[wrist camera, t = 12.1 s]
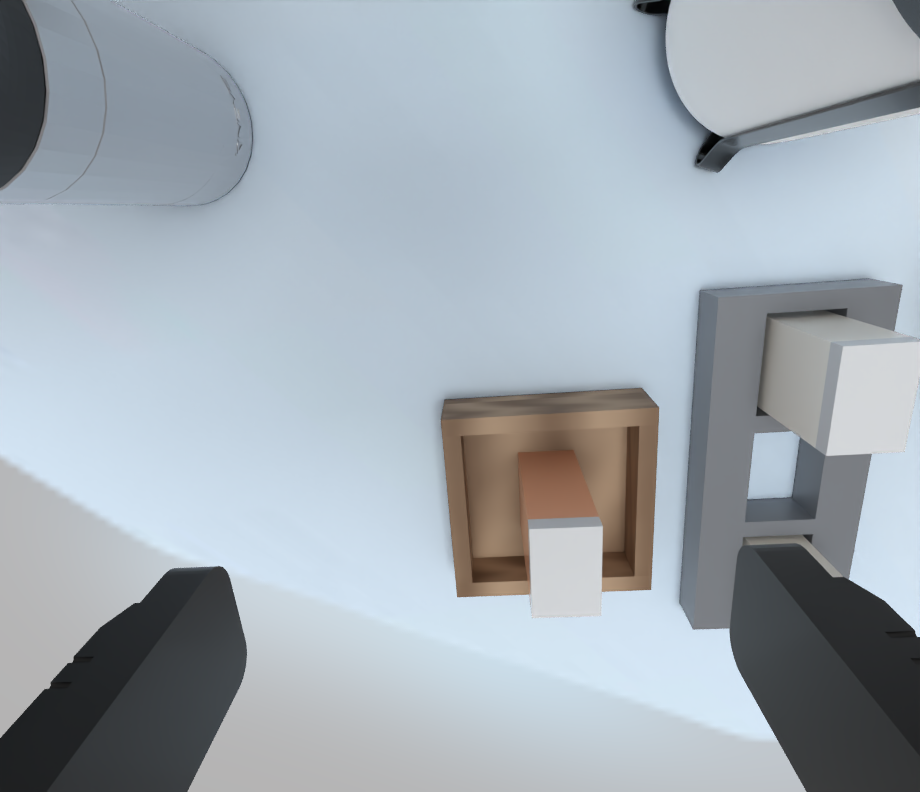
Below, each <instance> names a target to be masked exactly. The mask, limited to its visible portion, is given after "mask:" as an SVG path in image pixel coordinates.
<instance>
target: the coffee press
mask: <svg viewBox="0 0 920 792" xmlns="http://www.w3.org/2000/svg"><path fill="white" fill-rule="evenodd" d="M634 7H635V8H636V9H637V10H638V11H640V12H642V13H645V14H649V15H668V17H667V24H666V55H667V62H668V67H669V71H670V75H671V78H672V81H673V84H674V87H675V89H676V91H677V93H678V95H679V97H680V99H681V101H682V102H683V104H684V105H685V107H686V108H687V109H688V111H689V112H690V113H691V114H692V115H693V116H694V118H695V119H696V120H698V121H699V122H700V123H701V124H702V125H703V126H705V127H706V128H707V129H709V130H710V131H712V132H711V133H710V135H709V136H708V138H707V139H706V141H705V142H704V143H703V145H702V147H701V148H700V150H699V152H698V155H697V158H696V163H695V164H696V166H698V167H701V168H704V169H707V170H710V171H713V172H716V173H718V172H719V171H721V170H722V168H723V167H724V166H725V165H726V164H727V163H728V162H729V161H730V160H731V158H732V157H733V156H734V155H735V154H736V153H737V152H738V151H740V150H741V149H743V148H746V147H750V146H753V145H758V144H774V143H781V142H787V141H792V140H797V139H802V138H807V137H812V136H816V135H821V134H826V133H831V132H835V131H840V130H845V129H850V128H854V127H859V126H864V125H868V124H873V123H878V122H882V121H887V120H892V119H896V118H901V117H906V116H910V115H915V114H920V0H636V2H635V5H634Z"/></svg>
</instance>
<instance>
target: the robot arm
mask: <svg viewBox="0 0 920 792" xmlns="http://www.w3.org/2000/svg"><path fill="white" fill-rule="evenodd" d="M251 146H252V128H251V119H250V116H249V112H248V108H247V105H246V102H245V100H244V98H243V96H242V94H241V92H240V90H239V88H238V86H237V85H236V83H235V82H234V81H233V79H232V78H231V76H230V75H229V74H228V72H227V71H226V70H225V69H224V68H223V67H221V66H220V65H219V64H218V63H217V62H216V61H215V60H214V59H212V58H211V57H209V56H208V55H206V54H205V53H203V52H202V51H200V50H198V49H196V48H195V47H193V46H191V45H189V44H188V43H186V42H184V41H182V40H180V39H179V38H177V37H175V36H174V35H172V34H170V33H168V32H167V31H165V30H163V29H161V28H160V27H158V26H156V25H154V24H153V23H151V22H149V21H147V20H145V19H144V18H142V17H140V16H138V15H136V14H135V13H133V12H131V11H129V10H128V9H126V8H124V7H122V6H120V5H119V4H117V3H115V2H113V1H111V0H0V204H88V205H159V206H191V205H203V204H206V203H209V202H212V201H215V200H217V199H219V198H221V197H222V196H224V195H225V194H227V193H228V192H229V191H230V190H231V189H232V188H233V187H234V186H235V185H236V184H237V183H238V182H239V180H240V178H241V177H242V175H243V173H244V172H245V170H246V167H247V164H248V161H249V158H250V155H251ZM730 641H731V647H732V651H733V655H734V659H735V662H736V664H737V667H738V669H739V671H740V673H741V675H742V677H743V679H744V681H745V682H746V684H747V686H748V688H749V690H750V691H751V693H752V695H753V697H754V699H755V700H756V702H757V704H758V706H759V707H760V709H761V711H762V713H763V715H764V716H765V718H766V720H767V722H768V724H769V725H770V727H771V729H772V731H773V733H774V734H775V736H776V738H777V740H778V741H779V743H780V745H781V747H782V749H783V750H784V752H785V754H786V756H787V757H788V759H789V761H790V763H791V765H792V766H793V768H794V770H795V772H796V774H797V775H798V777H799V779H800V781H801V783H802V784H803V786H804V788H805V790H806V791H807V792H920V637H917V636H916V634H915V630H914V629H913V628H912V627H911V626H910V625H909V624H908V623H907V622H905V621H904V620H903V619H902V618H901V617H900V616H899V615H898V614H897V613H896V612H895V611H894V610H893V609H892V608H891V607H890V606H889V605H888V604H887V603H886V602H885V601H884V600H882V599H880V598H879V597H877V596H875V595H874V594H872V593H870V592H869V591H867V590H865V589H864V588H862V587H860V586H859V585H857V584H855V583H853V582H852V581H850V580H848V579H847V578H845V577H832V576H831V575H830V574H829V573H828V572H827V571H826V570H825V568H824V567H823V566H822V565H821V564H820V563H819V562H818V561H817V560H816V559H815V558H814V557H813V556H812V555H811V554H810V553H809V552H808V551H807V550H806V549H805V548H804V547H803V546H801V545H800V544H797V543H787V544H764V545H744V546H742V547H741V548H740V550H739V552H738V555H737V562H736V571H735V581H734V590H733V600H732V610H731V619H730ZM246 658H247V649H246V641H245V637H244V633H243V629H242V625H241V621H240V617H239V613H238V609H237V605H236V601H235V597H234V593H233V589H232V585H231V581H230V578H229V575H228V573H227V571H226V570H225V569H224V568H223V567H220V566H218V567H194V568H174V569H171V570H169V571H168V572H167V573H166V574H165V575H164V576H163V577H162V578H161V579H160V580H159V581H158V583H157V584H156V585H155V586H154V587H153V589H152V590H151V591H150V592H149V593H148V594H147V595H146V597H145V598H144V599H143V600H142V601H141V602H140V603H135V604H133V605H131V606H130V607H129V608H127V609H126V610H124V611H123V612H122V613H120V614H119V615H117V616H116V617H115V618H113V619H112V620H110V621H109V622H107V623H106V624H105V625H103V626H102V627H100V629H98V631H97V632H96V633H95V634H94V635H93V636H92V637H91V638H90V639H89V641H88V642H87V643H86V644H85V645H84V646H83V647H82V648H81V649H80V651H79V652H78V653H77V654H76V655H75V656H74V660H73V662H72V663H68V664H67V665H66V666H65V667H64V668H63V669H62V671H61V672H60V673H59V674H58V675H57V676H56V677H55V678H54V679H53V680H52V682H51V686H50V688H49V689H45V690H44V691H43V692H42V693H41V694H40V695H39V696H38V697H37V698H36V699H35V700H34V701H33V703H32V704H31V705H30V706H29V707H28V708H27V709H26V710H25V711H24V713H23V714H22V715H21V716H20V717H19V718H18V719H17V720H16V721H15V722H14V724H13V725H12V726H11V727H10V728H9V729H8V730H7V731H6V733H5V734H4V735H3V736H2V737H1V738H0V792H187V791H188V789H189V787H190V785H191V783H192V781H193V779H194V777H195V775H196V773H197V771H198V769H199V767H200V765H201V763H202V761H203V759H204V757H205V755H206V753H207V751H208V749H209V747H210V745H211V743H212V741H213V739H214V737H215V735H216V733H217V731H218V729H219V727H220V725H221V723H222V721H223V719H224V717H225V715H226V713H227V711H228V709H229V707H230V705H231V703H232V701H233V699H234V697H235V695H236V693H237V691H238V689H239V687H240V685H241V682H242V679H243V676H244V672H245V667H246Z"/></svg>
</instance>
